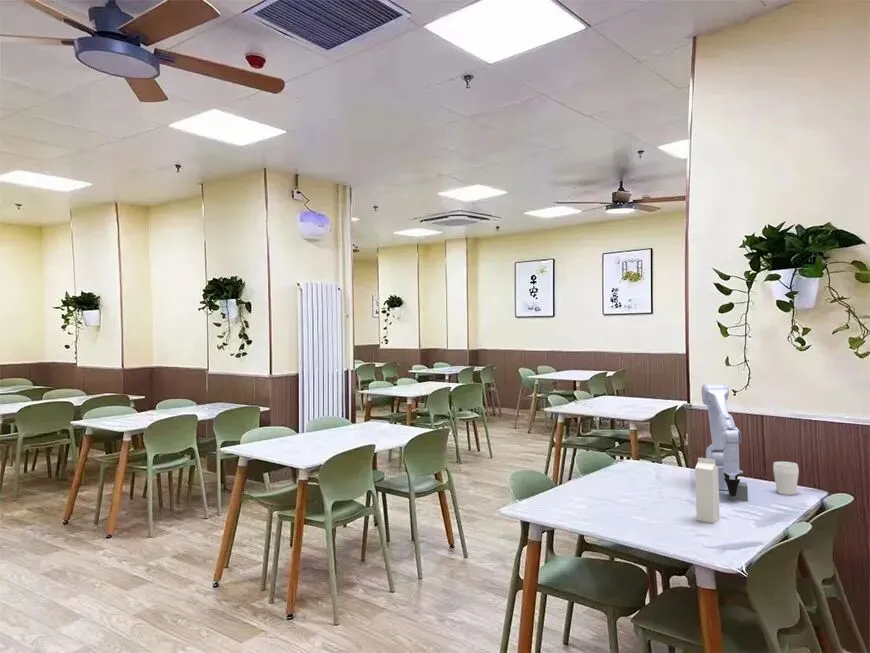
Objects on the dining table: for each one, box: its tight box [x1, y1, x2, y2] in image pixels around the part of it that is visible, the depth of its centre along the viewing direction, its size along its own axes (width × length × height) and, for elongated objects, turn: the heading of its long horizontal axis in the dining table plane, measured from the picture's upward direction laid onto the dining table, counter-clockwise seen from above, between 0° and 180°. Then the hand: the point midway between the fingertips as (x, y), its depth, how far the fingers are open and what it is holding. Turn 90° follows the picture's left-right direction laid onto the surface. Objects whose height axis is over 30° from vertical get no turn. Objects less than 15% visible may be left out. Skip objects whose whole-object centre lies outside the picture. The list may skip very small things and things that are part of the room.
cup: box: [772, 460, 800, 496], centre depth 248 cm, size 9×9×12 cm
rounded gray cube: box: [729, 481, 749, 502], centre depth 241 cm, size 6×6×6 cm
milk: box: [694, 457, 720, 524], centre depth 217 cm, size 6×6×22 cm
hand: (732, 493), depth 242 cm, fingers open, 7 cm apart
